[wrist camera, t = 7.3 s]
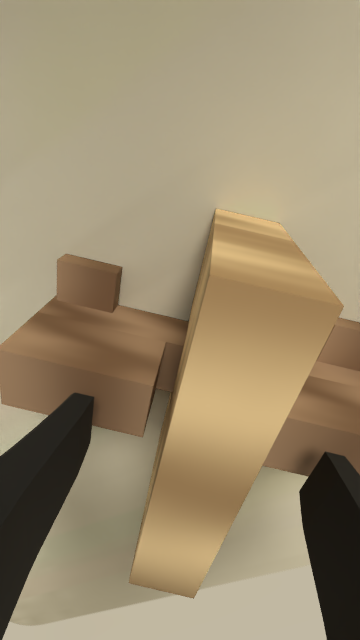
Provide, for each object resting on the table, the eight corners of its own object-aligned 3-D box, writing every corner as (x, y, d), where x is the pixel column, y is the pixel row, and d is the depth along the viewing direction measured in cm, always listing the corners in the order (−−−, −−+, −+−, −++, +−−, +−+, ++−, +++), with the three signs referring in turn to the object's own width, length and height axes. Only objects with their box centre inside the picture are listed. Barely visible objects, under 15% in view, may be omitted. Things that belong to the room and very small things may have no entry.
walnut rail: (59, 365, 16) (5, 438, 12) (61, 252, 13) (-10, 298, 9) (328, 429, 16) (364, 523, 12) (390, 329, 13) (465, 410, 9)
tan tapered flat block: (203, 440, 17) (193, 598, 11) (160, 430, 17) (128, 583, 11) (279, 223, 12) (344, 306, 6) (215, 208, 12) (209, 274, 6)
